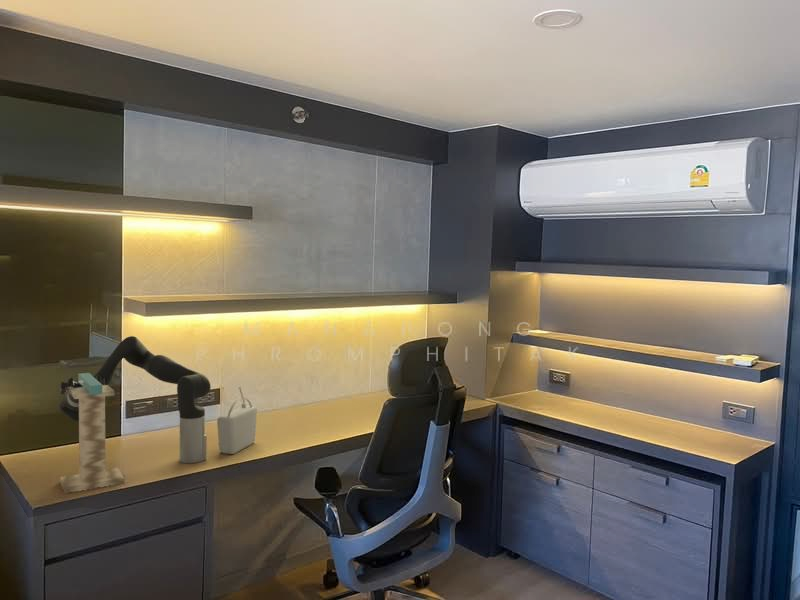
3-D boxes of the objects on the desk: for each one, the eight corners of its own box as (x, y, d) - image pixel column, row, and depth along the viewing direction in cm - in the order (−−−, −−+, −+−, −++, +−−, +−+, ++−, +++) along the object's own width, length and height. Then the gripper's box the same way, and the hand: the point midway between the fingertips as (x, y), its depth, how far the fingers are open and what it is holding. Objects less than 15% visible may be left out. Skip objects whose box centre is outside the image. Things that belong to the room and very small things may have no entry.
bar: (89, 381, 220) (88, 372, 219) (102, 393, 199) (102, 384, 198) (78, 381, 217) (78, 373, 217) (90, 395, 197) (90, 385, 196)
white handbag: (240, 439, 261) (241, 383, 260) (258, 441, 259) (258, 384, 258) (212, 454, 240) (213, 392, 239) (231, 456, 238) (231, 394, 237)
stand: (117, 473, 217) (116, 384, 215) (124, 483, 207) (124, 390, 205) (60, 482, 206) (59, 389, 204) (65, 493, 196) (64, 395, 195)
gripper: (57, 386, 224) (61, 370, 213) (99, 383, 233) (105, 367, 221) (58, 406, 222) (63, 390, 210) (101, 401, 230) (108, 386, 218)
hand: (85, 379), depth 216 cm, fingers open, 8 cm apart
